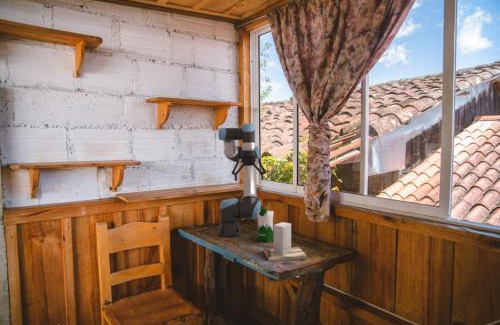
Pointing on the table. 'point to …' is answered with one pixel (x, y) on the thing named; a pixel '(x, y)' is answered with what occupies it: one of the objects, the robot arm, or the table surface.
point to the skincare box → (282, 238)
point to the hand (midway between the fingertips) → (248, 186)
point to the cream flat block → (294, 254)
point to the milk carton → (265, 225)
